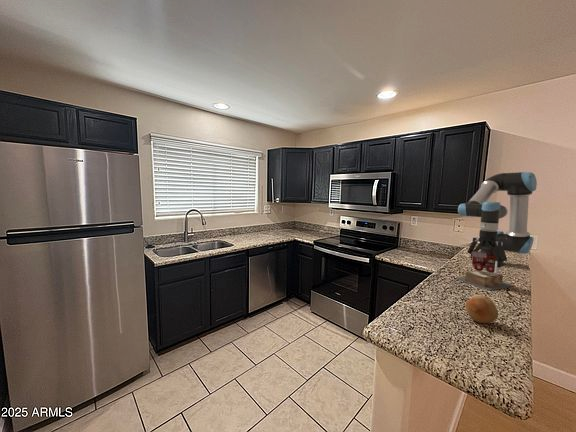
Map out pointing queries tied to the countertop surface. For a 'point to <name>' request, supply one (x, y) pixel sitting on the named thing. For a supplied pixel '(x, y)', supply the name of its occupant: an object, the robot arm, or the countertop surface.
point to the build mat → (503, 285)
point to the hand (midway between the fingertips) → (484, 269)
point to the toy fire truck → (483, 261)
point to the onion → (481, 309)
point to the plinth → (484, 278)
